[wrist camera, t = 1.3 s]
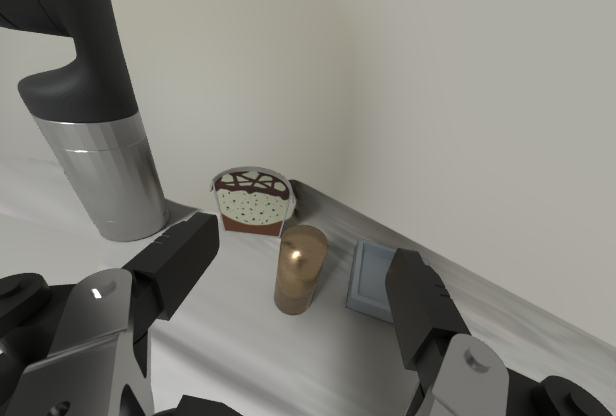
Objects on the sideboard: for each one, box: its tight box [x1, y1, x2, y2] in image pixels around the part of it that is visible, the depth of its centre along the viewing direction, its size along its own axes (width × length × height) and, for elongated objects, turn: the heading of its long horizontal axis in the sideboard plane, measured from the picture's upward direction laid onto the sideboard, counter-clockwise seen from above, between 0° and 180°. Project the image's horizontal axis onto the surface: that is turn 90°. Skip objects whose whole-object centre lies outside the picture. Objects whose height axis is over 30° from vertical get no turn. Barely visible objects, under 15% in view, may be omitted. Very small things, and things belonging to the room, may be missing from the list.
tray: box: [346, 238, 430, 325], centre depth 33 cm, size 12×12×2 cm
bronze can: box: [274, 225, 328, 315], centre depth 27 cm, size 5×5×11 cm
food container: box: [210, 167, 294, 238], centre depth 37 cm, size 12×6×10 cm, turn 89°
